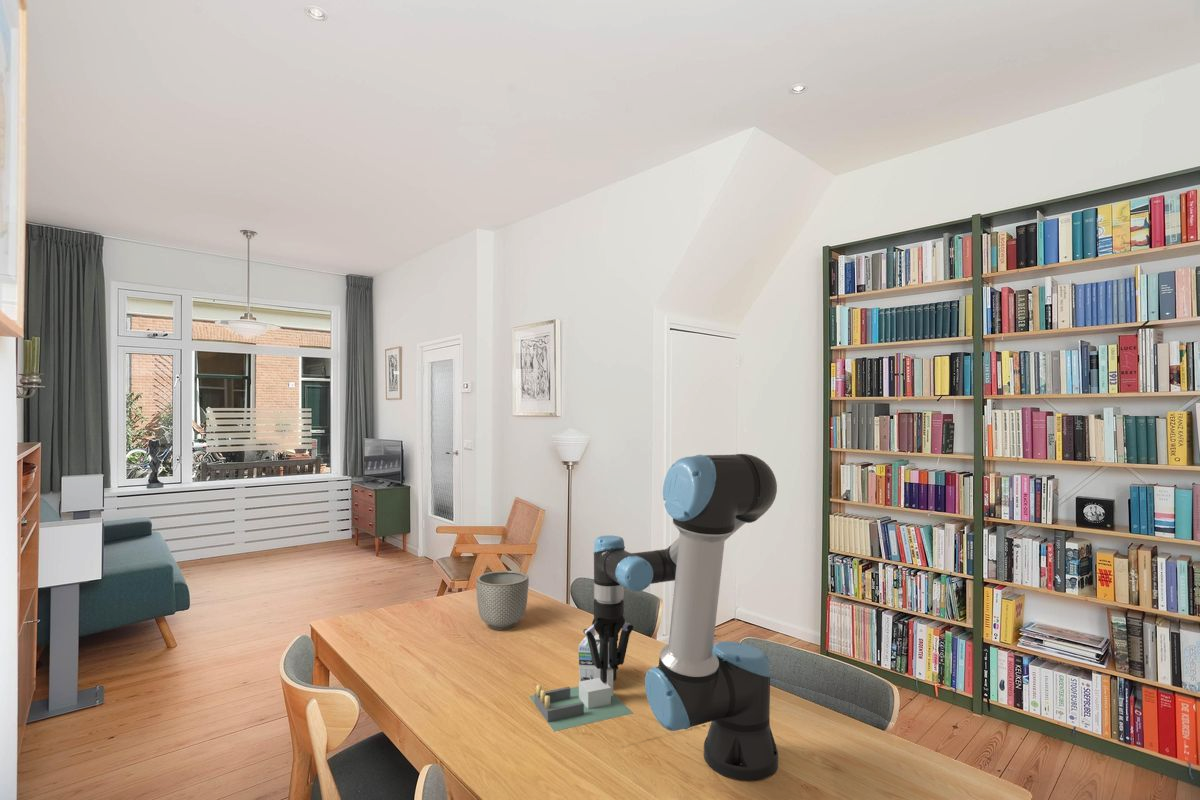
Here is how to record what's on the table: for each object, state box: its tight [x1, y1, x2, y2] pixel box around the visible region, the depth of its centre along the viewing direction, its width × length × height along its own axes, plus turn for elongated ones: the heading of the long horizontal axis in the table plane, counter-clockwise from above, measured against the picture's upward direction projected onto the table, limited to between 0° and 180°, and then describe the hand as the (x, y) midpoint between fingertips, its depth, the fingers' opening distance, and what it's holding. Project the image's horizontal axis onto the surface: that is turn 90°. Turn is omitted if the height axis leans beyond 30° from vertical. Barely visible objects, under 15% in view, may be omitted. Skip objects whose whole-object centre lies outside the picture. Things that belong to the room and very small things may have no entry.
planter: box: [475, 570, 530, 631], centre depth 204 cm, size 17×17×16 cm
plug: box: [578, 678, 611, 709], centre depth 151 cm, size 6×6×4 cm
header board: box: [528, 684, 634, 732], centre depth 149 cm, size 18×20×6 cm
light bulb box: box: [577, 634, 610, 682], centre depth 162 cm, size 11×7×11 cm, turn 169°
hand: (608, 693), depth 152 cm, fingers closed
